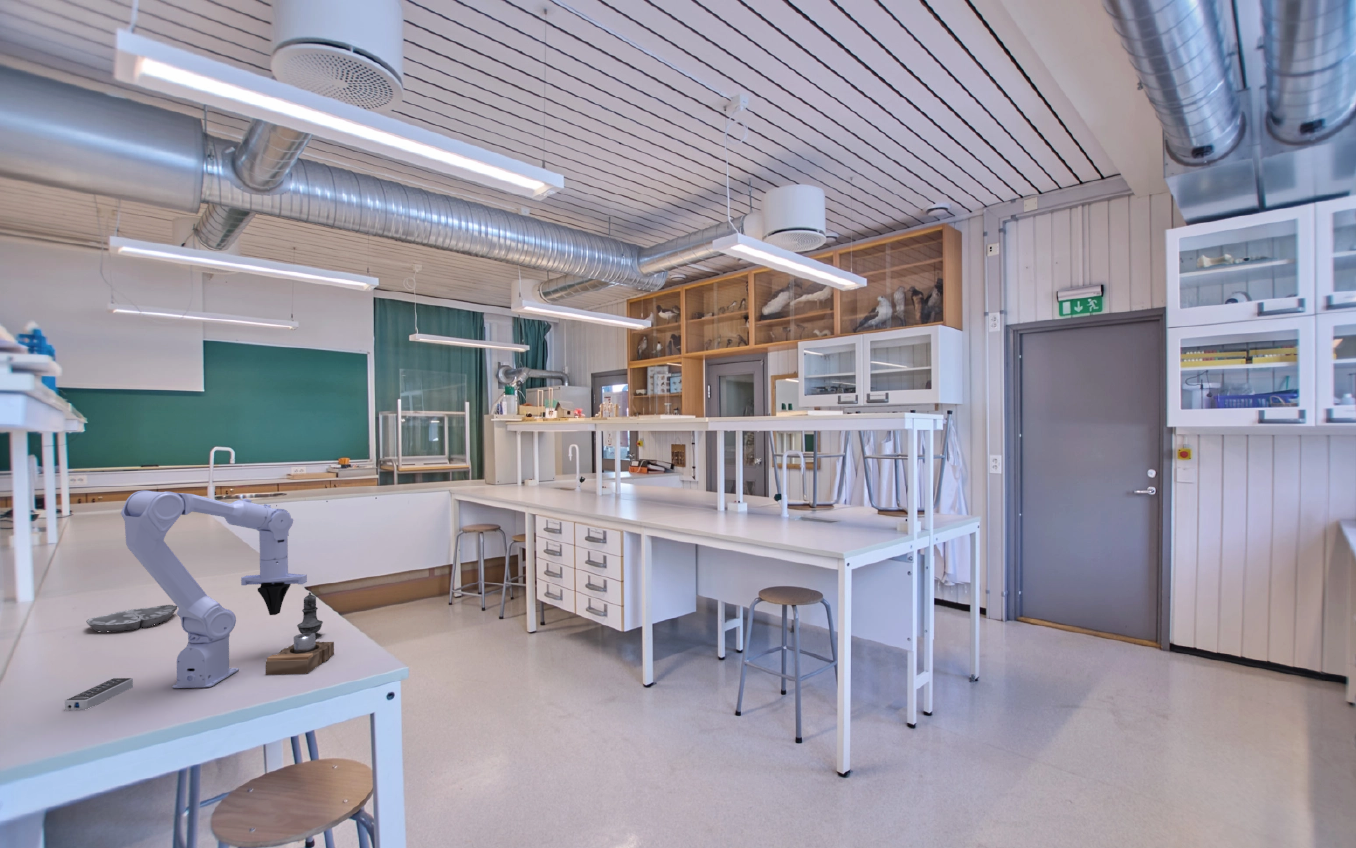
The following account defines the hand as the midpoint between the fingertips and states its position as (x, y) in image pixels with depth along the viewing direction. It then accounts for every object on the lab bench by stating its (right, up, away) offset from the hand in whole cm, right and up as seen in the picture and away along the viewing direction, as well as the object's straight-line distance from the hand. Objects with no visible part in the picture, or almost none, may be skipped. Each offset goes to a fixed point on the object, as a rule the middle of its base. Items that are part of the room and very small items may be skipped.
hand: (274, 614), depth 151 cm
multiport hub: (-21, -11, -23) cm, 33 cm away
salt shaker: (+1, -10, +13) cm, 17 cm away
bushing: (+10, -10, -4) cm, 14 cm away
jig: (+10, -10, -6) cm, 15 cm away
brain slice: (-56, -11, +25) cm, 62 cm away
